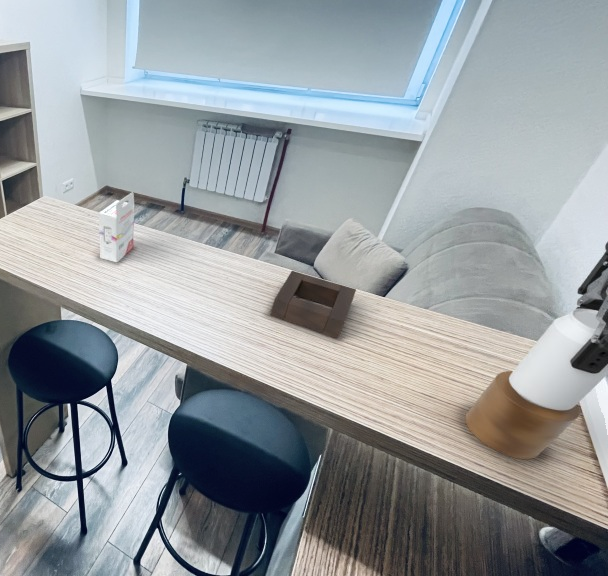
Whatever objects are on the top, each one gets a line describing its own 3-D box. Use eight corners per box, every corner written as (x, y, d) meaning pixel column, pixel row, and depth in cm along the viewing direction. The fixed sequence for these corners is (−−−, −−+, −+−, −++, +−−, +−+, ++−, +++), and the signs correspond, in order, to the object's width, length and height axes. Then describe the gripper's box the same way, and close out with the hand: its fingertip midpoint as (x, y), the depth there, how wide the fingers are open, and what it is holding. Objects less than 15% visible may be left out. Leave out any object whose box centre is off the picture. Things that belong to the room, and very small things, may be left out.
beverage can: (559, 423, 48) (634, 348, 41) (496, 388, 53) (554, 316, 46) (578, 401, 51) (652, 327, 44) (517, 369, 55) (575, 298, 48)
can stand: (349, 305, 80) (356, 289, 78) (337, 338, 72) (345, 321, 70) (287, 286, 86) (291, 270, 84) (270, 315, 78) (274, 298, 76)
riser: (546, 436, 56) (586, 398, 51) (531, 471, 52) (573, 432, 47) (475, 400, 61) (505, 362, 56) (456, 429, 57) (487, 390, 52)
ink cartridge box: (116, 243, 103) (116, 187, 94) (133, 247, 100) (136, 190, 92) (98, 258, 97) (97, 199, 88) (116, 263, 94) (117, 204, 86)
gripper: (806, 265, 31) (641, 407, 41) (725, 202, 41) (606, 329, 50) (660, 239, 35) (540, 375, 44) (617, 187, 44) (526, 308, 54)
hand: (576, 350), depth 47 cm, fingers closed on beverage can, 6 cm apart
